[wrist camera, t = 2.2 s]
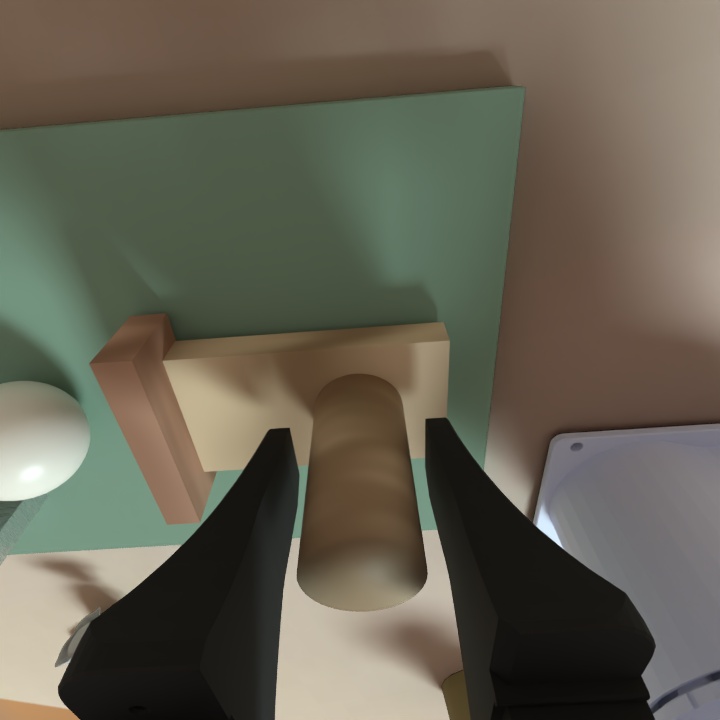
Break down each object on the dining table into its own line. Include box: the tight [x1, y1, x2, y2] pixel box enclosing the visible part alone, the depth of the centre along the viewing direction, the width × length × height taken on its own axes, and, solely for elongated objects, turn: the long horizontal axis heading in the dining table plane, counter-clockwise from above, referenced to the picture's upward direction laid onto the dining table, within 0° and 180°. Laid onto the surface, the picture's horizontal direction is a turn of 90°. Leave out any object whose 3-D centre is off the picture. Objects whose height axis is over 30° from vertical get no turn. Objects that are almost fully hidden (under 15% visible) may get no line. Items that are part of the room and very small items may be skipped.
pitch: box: [0, 86, 525, 555], centre depth 17 cm, size 24×18×1 cm
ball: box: [0, 381, 90, 501], centre depth 15 cm, size 4×4×4 cm
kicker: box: [89, 313, 450, 612], centre depth 14 cm, size 10×7×7 cm
